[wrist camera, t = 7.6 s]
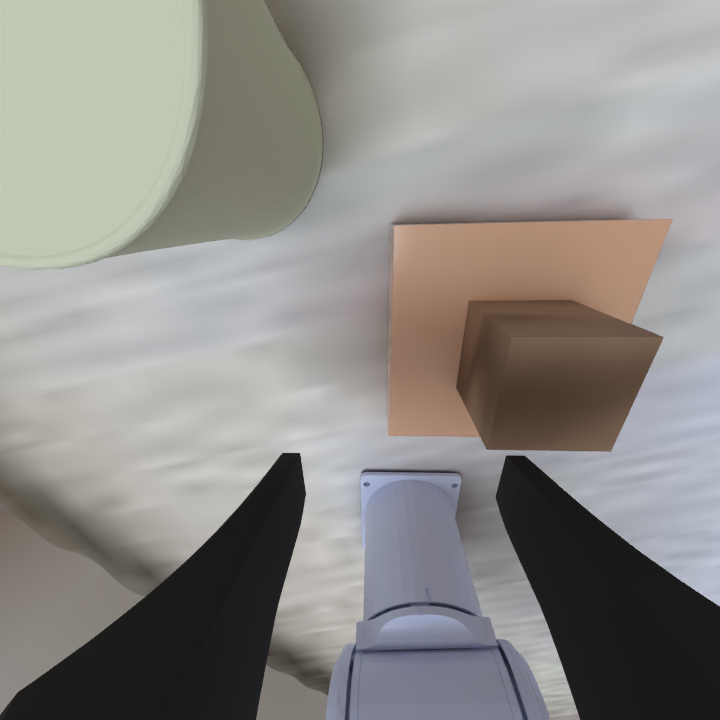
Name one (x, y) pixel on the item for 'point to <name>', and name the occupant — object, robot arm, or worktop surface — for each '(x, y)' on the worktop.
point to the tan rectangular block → (495, 296)
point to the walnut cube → (550, 374)
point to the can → (148, 128)
